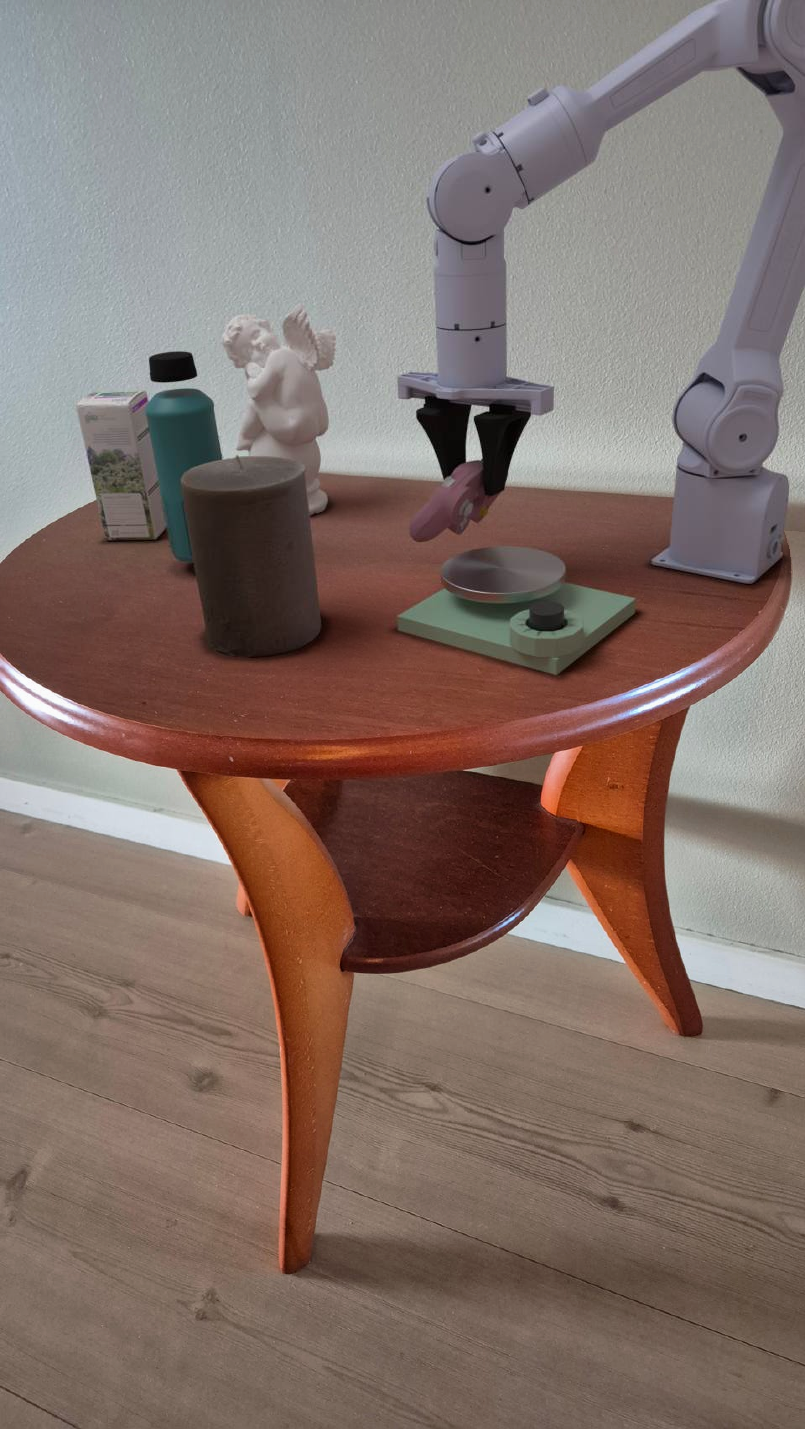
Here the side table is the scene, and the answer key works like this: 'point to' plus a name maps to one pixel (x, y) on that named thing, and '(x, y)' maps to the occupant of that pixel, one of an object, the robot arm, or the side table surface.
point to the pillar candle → (253, 554)
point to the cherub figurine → (283, 391)
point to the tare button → (546, 616)
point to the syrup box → (122, 464)
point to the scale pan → (503, 574)
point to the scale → (520, 625)
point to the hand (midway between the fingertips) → (474, 489)
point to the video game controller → (453, 504)
